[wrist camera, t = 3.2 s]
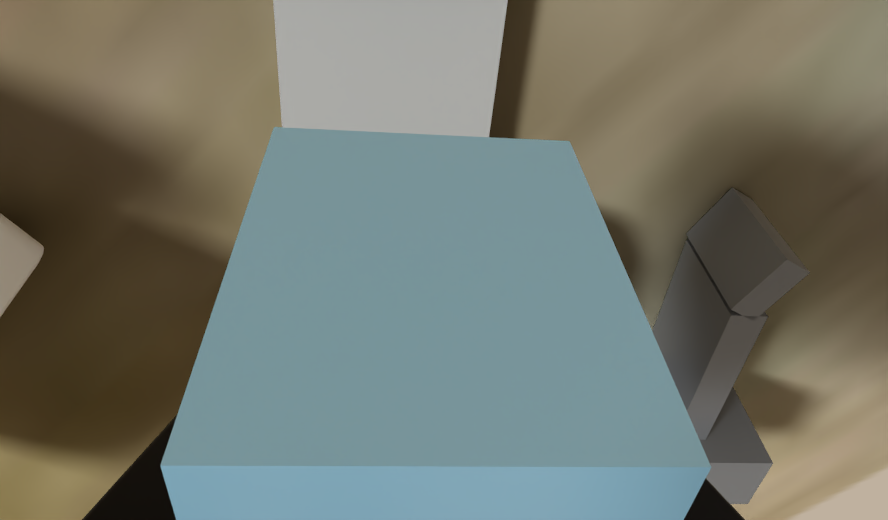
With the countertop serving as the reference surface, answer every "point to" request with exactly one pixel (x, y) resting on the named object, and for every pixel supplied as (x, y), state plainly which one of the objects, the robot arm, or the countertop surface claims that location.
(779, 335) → the countertop surface
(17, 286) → the cable organizer
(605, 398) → the light blue block
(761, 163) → the countertop surface
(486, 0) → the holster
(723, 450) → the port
